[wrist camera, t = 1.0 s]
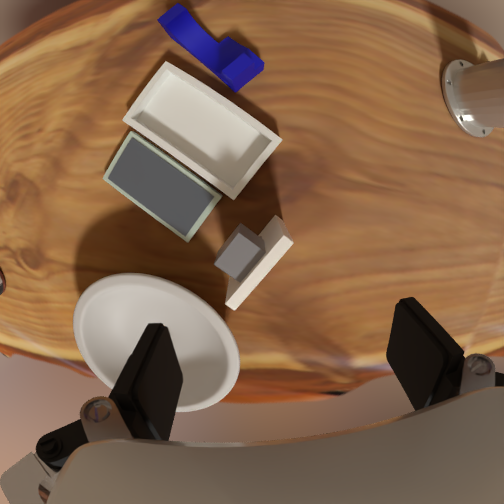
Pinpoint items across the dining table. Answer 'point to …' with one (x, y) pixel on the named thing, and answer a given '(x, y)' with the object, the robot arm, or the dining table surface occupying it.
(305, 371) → the dining table surface
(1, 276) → the supplement bottle
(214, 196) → the phone
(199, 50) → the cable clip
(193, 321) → the soup bowl
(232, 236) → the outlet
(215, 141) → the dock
